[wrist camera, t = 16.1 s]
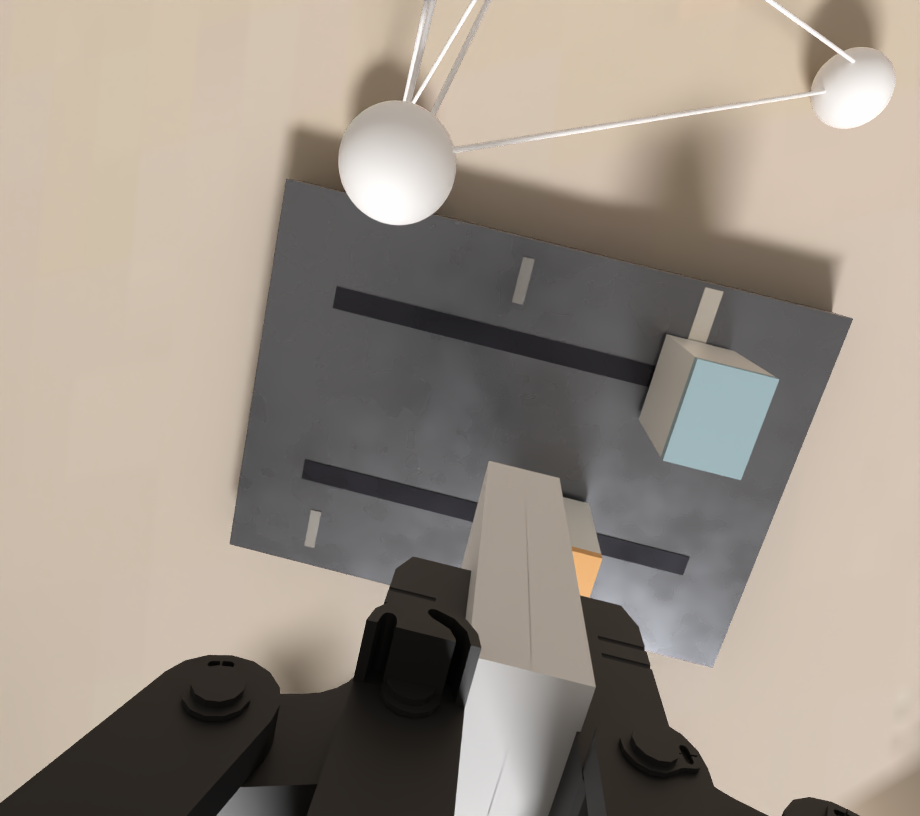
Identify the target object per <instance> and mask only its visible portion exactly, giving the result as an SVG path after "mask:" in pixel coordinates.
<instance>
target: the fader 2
mask: <svg viewBox="0 0 920 816" xmlns="http://www.w3.org/2000/svg"><path fill="white" fill-rule="evenodd" d="M778 382H779V379H778V378H777V377H775V376H773V375H772V374H770V373H769V372H767V371H765V370H764V369H762V368H761V367H759V366H757V365H756V364H754V363H753V362H751V361H749V360H748V359H746V358H745V357H743V356H741V355H740V354H738V353H737V352H735V351H732V350H728V349H724V348H720V347H716V346H712V345H708V344H704V343H700V342H696V341H692V340H688V339H684V338H680V337H676V336H672V335H668V334H667V335H666V338H665V341H664V344H663V347H662V350H661V353H660V356H659V359H658V362H657V365H656V368H655V371H654V374H653V377H652V380H651V384H650V387H649V390H648V393H647V396H646V399H645V402H644V405H643V408H642V411H641V414H640V417H639V421H640V423H641V424H642V426H643V428H644V430H645V431H646V433H647V435H648V436H649V438H650V440H651V441H652V443H653V445H654V447H655V448H656V450H657V452H658V453H659V455H660V457H661V458H662V460H663V461H666V462H670V463H674V464H678V465H682V466H686V467H690V468H694V469H698V470H702V471H706V472H710V473H714V474H718V475H722V476H726V477H730V478H734V479H738V480H741V479H742V476H743V474H744V471H745V468H746V466H747V463H748V460H749V458H750V455H751V453H752V450H753V447H754V445H755V442H756V440H757V437H758V434H759V432H760V429H761V426H762V424H763V421H764V419H765V416H766V413H767V411H768V408H769V405H770V403H771V400H772V398H773V395H774V392H775V390H776V387H777V385H778Z"/></svg>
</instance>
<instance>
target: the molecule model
mask: <svg viewBox="0 0 920 816" xmlns="http://www.w3.org/2000/svg"><path fill="white" fill-rule="evenodd" d="M476 1H477V0H472V1H471V2H470V4H469V6H468V7H467V9H466V11H465V12H464V14H463V16H462V18H461V19H460V21H459V23H458V24H457V26H456V28H455V29H454V31H453V33H452V34H451V36H450V38H449V39H448V41H447V43H446V45H445V46H444V48H443V50H442V51H441V53H440V55H439V56H438V58H437V60H436V61H435V63H434V65H433V66H432V68H431V70H430V72H429V73H428V75H427V77H426V78H425V80H424V82H423V83H422V85H421V87H420V88H419V90H418V92H417V93H416V95H415V97H414V99H413V100H412V98H413V94H414V90H415V86H416V82H417V78H418V74H419V69H420V65H421V61H422V57H423V53H424V49H425V45H426V41H427V37H428V33H429V28H430V24H431V20H432V16H433V12H434V8H435V4H436V0H430V2H429V0H424V4H423V9H422V13H421V18H420V22H419V27H418V32H417V36H416V41H415V46H414V50H413V55H412V60H411V64H410V69H409V74H408V78H407V83H406V88H405V92H404V97H403V101H399V100H391V101H384V102H380V103H377V104H375V105H372V106H370V107H368V108H367V109H365V110H364V111H362V112H361V113H360V114H359V115H357V116H356V117H355V118H354V120H353V121H352V122H351V123H350V125H349V126H348V128H347V129H346V131H345V133H344V135H343V138H342V141H341V144H340V148H339V155H338V167H339V174H340V178H341V182H342V184H343V187H344V189H345V191H346V193H347V195H348V196H349V198H350V199H351V201H352V202H353V203H354V204H355V206H356V207H357V208H358V209H360V210H361V211H362V212H363V213H364V214H366V215H367V216H369V217H371V218H372V219H374V220H377V221H379V222H382V223H385V224H390V225H408V224H413V223H416V222H419V221H421V220H424V219H425V218H427V217H429V216H430V215H432V214H433V213H434V212H436V211H437V210H438V209H439V208H440V207H441V206H442V204H443V203H444V202H445V200H446V199H447V197H448V195H449V194H450V191H451V189H452V187H453V184H454V180H455V175H456V154H455V153H460V152H466V151H472V150H478V149H484V148H491V147H497V146H503V145H509V144H515V143H521V142H528V141H534V140H540V139H546V138H552V137H559V136H565V135H571V134H577V133H583V132H589V131H596V130H602V129H608V128H614V127H620V126H627V125H633V124H639V123H645V122H651V121H657V120H664V119H670V118H676V117H682V116H688V115H695V114H701V113H707V112H713V111H719V110H725V109H732V108H738V107H744V106H750V105H756V104H762V103H769V102H775V101H781V100H787V99H793V98H800V97H806V96H810V100H811V105H812V109H813V111H814V113H815V114H816V116H817V117H818V118H819V119H820V120H821V121H822V122H823V123H825V124H827V125H829V126H831V127H835V128H842V129H846V128H854V127H858V126H861V125H863V124H865V123H867V122H869V121H871V120H872V119H874V118H875V117H876V116H877V115H879V114H880V113H881V112H882V111H883V109H884V108H885V107H886V106H887V104H888V103H889V101H890V99H891V97H892V95H893V92H894V88H895V81H896V77H895V71H894V67H893V65H892V63H891V61H890V60H889V59H888V57H887V56H886V55H884V54H883V53H882V52H880V51H878V50H876V49H873V48H869V47H855V48H850V49H847V50H844V51H843V50H842V49H840V48H839V47H837V46H836V45H835V44H833V43H832V42H831V41H829V40H828V39H826V38H825V37H824V36H822V35H821V34H820V33H818V32H817V31H815V30H814V29H813V28H811V27H810V26H809V25H807V24H806V23H805V22H803V21H802V20H800V19H799V18H798V17H796V16H795V15H794V14H792V13H791V12H789V11H788V10H787V9H785V8H784V7H783V6H781V5H780V4H778V3H777V2H776V1H774V0H765V1H766V2H768V3H769V4H770V5H772V6H773V7H775V8H776V9H777V10H779V11H780V12H782V13H783V14H784V15H786V16H787V17H789V18H790V19H791V20H793V21H794V22H795V23H797V24H798V25H800V26H801V27H802V28H804V29H805V30H807V31H808V32H809V33H811V34H812V35H814V36H815V37H816V38H818V39H819V40H821V41H822V42H823V43H825V44H826V45H827V46H829V47H830V48H832V49H833V50H834V51H836V52H837V53H838V54H836V55H834V56H833V57H832V58H830V59H829V60H828V61H827V62H826V63H825V64H824V65H823V66H822V67H821V68H820V70H819V71H818V73H817V74H816V76H815V78H814V81H813V83H812V87H811V92H805V93H798V94H792V95H785V96H779V97H772V98H766V99H760V100H753V101H747V102H740V103H734V104H727V105H721V106H714V107H708V108H702V109H695V110H689V111H682V112H676V113H669V114H663V115H656V116H650V117H644V118H637V119H631V120H624V121H618V122H611V123H605V124H599V125H592V126H586V127H579V128H573V129H566V130H560V131H553V132H547V133H541V134H534V135H528V136H521V137H515V138H508V139H502V140H496V141H489V142H483V143H476V144H470V145H463V146H457V147H454V146H453V143H452V140H451V137H450V135H449V133H448V132H447V130H446V128H445V127H444V125H443V124H442V123H441V122H440V121H439V119H438V118H437V117H436V116H435V115H436V113H437V111H438V109H439V107H440V105H441V103H442V101H443V99H444V97H445V95H446V93H447V91H448V88H449V86H450V84H451V82H452V80H453V78H454V76H455V74H456V72H457V70H458V68H459V66H460V64H461V62H462V60H463V58H464V56H465V54H466V51H467V49H468V47H469V45H470V43H471V41H472V39H473V37H474V35H475V33H476V31H477V29H478V27H479V25H480V23H481V21H482V19H483V16H484V14H485V12H486V10H487V8H488V6H489V4H490V2H491V0H485V2H484V4H483V6H482V8H481V10H480V12H479V14H478V16H477V18H476V20H475V22H474V24H473V26H472V28H471V30H470V32H469V34H468V36H467V38H466V40H465V42H464V45H463V47H462V49H461V51H460V53H459V55H458V57H457V59H456V61H455V63H454V65H453V67H452V69H451V71H450V73H449V75H448V77H447V79H446V81H445V83H444V85H443V87H442V89H441V91H440V93H439V96H438V98H437V100H436V102H435V104H434V106H433V108H432V110H431V112H429V111H428V110H426V109H425V108H423V107H421V106H419V105H417V104H415V103H416V101H417V100H418V98H419V96H420V94H421V93H422V91H423V89H424V88H425V86H426V84H427V83H428V81H429V79H430V78H431V76H432V74H433V73H434V71H435V69H436V68H437V66H438V64H439V63H440V61H441V59H442V58H443V56H444V54H445V53H446V51H447V49H448V48H449V46H450V44H451V43H452V41H453V39H454V38H455V36H456V34H457V33H458V31H459V29H460V28H461V26H462V24H463V23H464V21H465V19H466V18H467V16H468V14H469V13H470V11H471V9H472V8H473V6H474V4H475V3H476ZM428 4H429V6H428ZM427 8H428V11H427ZM426 13H427V15H426ZM425 17H426V19H425ZM424 22H425V23H424ZM423 26H424V27H423Z"/></svg>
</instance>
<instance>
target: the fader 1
mask: <svg viewBox="0 0 920 816" xmlns="http://www.w3.org/2000/svg"><path fill="white" fill-rule="evenodd" d="M563 501H564V507H565V513H566V518H567V524H568V530H569V536H570V541H571V547H572V553H573V559H574V564H575V570H576V576H577V582H578V587H579V593H580V595H581V596H585V597H589V598H590V595H591V592H592V589H593V586H594V582H595V579H596V576H597V573H598V570H599V567H600V564H601V561H602V555H601V551H600V547H599V543H598V539H597V534H596V530H595V526H594V522H593V518H592V514H591V510H590V506H589V503H585V502H581V501H577V500H573V499H569V498H565V497H563Z"/></svg>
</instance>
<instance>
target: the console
mask: <svg viewBox="0 0 920 816" xmlns="http://www.w3.org/2000/svg"><path fill="white" fill-rule="evenodd" d="M852 320H853V319H852V318H849V317H846V316H843V315H839V314H836V313H833V312H829V311H825V310H821V309H817V308H813V307H809V306H805V305H801V304H797V303H792V302H788V301H784V300H780V299H776V298H772V297H768V296H764V295H760V294H756V293H752V292H748V291H744V290H740V289H736V288H732V287H728V286H724V285H720V284H716V283H712V282H708V281H704V280H699V279H695V278H691V277H687V276H683V275H679V274H675V273H671V272H667V271H663V270H659V269H655V268H651V267H647V266H643V265H639V264H635V263H631V262H627V261H623V260H619V259H615V258H611V257H606V256H602V255H598V254H594V253H590V252H586V251H582V250H578V249H574V248H570V247H566V246H562V245H558V244H554V243H550V242H546V241H542V240H538V239H534V238H530V237H526V236H522V235H518V234H513V233H509V232H505V231H501V230H497V229H493V228H489V227H485V226H481V225H477V224H473V223H469V222H465V221H461V220H457V219H453V218H449V217H445V216H441V215H437V214H432V215H430V216H429V217H427V218H425V219H424V220H421V221H419V222H416V223H413V224H408V225H390V224H385V223H382V222H379V221H377V220H374V219H372V218H371V217H369V216H367V215H366V214H364V213H363V212H362V211H361V210H360V209H358V208H357V207H356V206H355V204H354V203H353V202H352V201H351V199H350V198H349V196H348V195H347V193H346V192H344V191H340V190H336V189H331V188H327V187H323V186H319V185H315V184H311V183H307V182H303V181H298V180H292V179H286V184H285V191H284V197H283V204H282V210H281V217H280V223H279V229H278V236H277V242H276V249H275V255H274V262H273V268H272V275H271V281H270V287H269V294H268V300H267V307H266V313H265V320H264V326H263V332H262V339H261V345H260V352H259V358H258V365H257V371H256V377H255V384H254V390H253V397H252V403H251V410H250V416H249V422H248V429H247V435H246V442H245V448H244V455H243V461H242V468H241V474H240V480H239V487H238V493H237V500H236V506H235V513H234V519H233V525H232V532H231V538H230V544H231V545H235V546H239V547H243V548H247V549H251V550H255V551H259V552H262V553H266V554H270V555H274V556H278V557H282V558H286V559H290V560H294V561H298V562H302V563H305V564H309V565H313V566H317V567H321V568H325V569H329V570H333V571H337V572H341V573H344V574H348V575H352V576H356V577H360V578H364V579H368V580H372V581H376V582H380V583H383V584H387V585H390V584H391V581H392V578H393V575H394V572H395V569H396V568H397V567H399V566H400V565H402V564H403V563H404V562H406V561H407V560H409V559H410V558H411V557H413V556H414V557H418V558H422V559H426V560H430V561H434V562H438V563H442V564H446V565H450V566H454V567H458V568H461V566H462V562H463V558H464V554H465V551H466V547H467V543H468V539H469V535H470V531H471V527H472V524H473V520H474V516H475V512H476V508H477V504H478V501H479V497H480V493H481V489H482V485H483V481H484V477H485V474H486V470H487V466H488V462H489V461H492V462H496V463H500V464H504V465H508V466H512V467H517V468H521V469H525V470H529V471H533V472H537V473H541V474H545V475H549V476H553V477H557V478H560V484H561V490H562V495H563V497H565V498H569V499H573V500H577V501H581V502H585V503H589V506H590V510H591V514H592V518H593V522H594V526H595V530H596V534H597V539H598V543H599V547H600V551H601V555H602V561H601V564H600V567H599V570H598V573H597V576H596V579H595V582H594V586H593V589H592V592H591V595H590V598H593V599H597V600H601V601H605V602H609V603H613V604H617V605H621V606H622V607H623V608H624V610H625V611H626V612H627V613H628V614H629V616H630V617H631V618H632V619H633V620H634V622H635V623H636V624H637V625H638V626H639V629H640V633H641V636H642V639H643V642H644V646H645V651H649V652H653V653H657V654H661V655H665V656H668V657H672V658H676V659H680V660H684V661H688V662H692V663H696V664H700V665H704V666H707V667H711V668H713V665H714V663H715V660H716V658H717V655H718V653H719V650H720V648H721V645H722V643H723V640H724V638H725V635H726V633H727V630H728V628H729V625H730V623H731V620H732V618H733V615H734V613H735V610H736V608H737V606H738V603H739V601H740V598H741V596H742V593H743V591H744V588H745V586H746V583H747V581H748V578H749V576H750V573H751V571H752V568H753V566H754V563H755V561H756V558H757V556H758V553H759V551H760V548H761V546H762V543H763V541H764V539H765V536H766V534H767V531H768V529H769V526H770V524H771V521H772V519H773V516H774V514H775V511H776V509H777V506H778V504H779V501H780V499H781V496H782V494H783V491H784V489H785V486H786V484H787V481H788V479H789V476H790V474H791V471H792V469H793V467H794V464H795V462H796V459H797V457H798V454H799V452H800V449H801V447H802V444H803V442H804V439H805V437H806V434H807V432H808V429H809V427H810V424H811V422H812V419H813V417H814V414H815V412H816V409H817V407H818V404H819V402H820V399H821V397H822V395H823V392H824V390H825V387H826V385H827V382H828V380H829V377H830V375H831V372H832V370H833V367H834V365H835V362H836V360H837V357H838V355H839V352H840V350H841V347H842V345H843V342H844V340H845V337H846V335H847V332H848V330H849V328H850V325H851V323H852ZM667 334H668V335H672V336H676V337H680V338H684V339H688V340H692V341H696V342H700V343H704V344H708V345H712V346H716V347H720V348H724V349H728V350H732V351H735V352H737V353H738V354H740V355H741V356H743V357H745V358H746V359H748V360H749V361H751V362H753V363H754V364H756V365H757V366H759V367H761V368H762V369H764V370H765V371H767V372H769V373H770V374H772V375H773V376H775V377H777V378H778V379H779V382H778V385H777V387H776V390H775V392H774V395H773V398H772V400H771V403H770V405H769V408H768V411H767V413H766V416H765V419H764V421H763V424H762V426H761V429H760V432H759V434H758V437H757V440H756V442H755V445H754V447H753V450H752V453H751V455H750V458H749V460H748V463H747V466H746V468H745V471H744V474H743V476H742V479H741V480H738V479H734V478H730V477H726V476H722V475H718V474H714V473H710V472H706V471H702V470H698V469H694V468H690V467H686V466H682V465H678V464H674V463H670V462H666V461H663V460H662V458H661V457H660V455H659V453H658V452H657V450H656V448H655V447H654V445H653V443H652V441H651V440H650V438H649V436H648V435H647V433H646V431H645V430H644V428H643V426H642V424H641V423H640V421H639V417H640V414H641V411H642V408H643V405H644V402H645V399H646V396H647V393H648V390H649V387H650V384H651V380H652V377H653V374H654V371H655V368H656V365H657V362H658V359H659V356H660V353H661V350H662V347H663V344H664V341H665V338H666V335H667Z"/></svg>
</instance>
